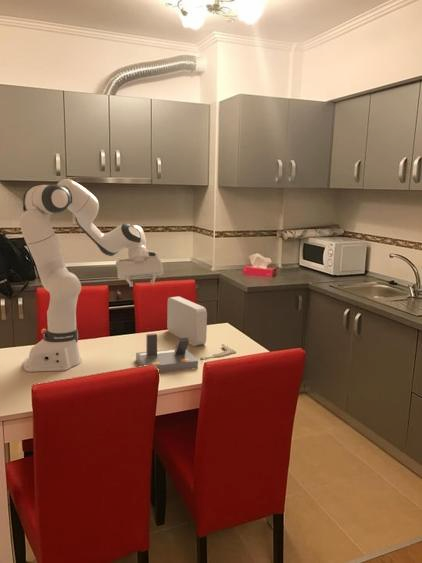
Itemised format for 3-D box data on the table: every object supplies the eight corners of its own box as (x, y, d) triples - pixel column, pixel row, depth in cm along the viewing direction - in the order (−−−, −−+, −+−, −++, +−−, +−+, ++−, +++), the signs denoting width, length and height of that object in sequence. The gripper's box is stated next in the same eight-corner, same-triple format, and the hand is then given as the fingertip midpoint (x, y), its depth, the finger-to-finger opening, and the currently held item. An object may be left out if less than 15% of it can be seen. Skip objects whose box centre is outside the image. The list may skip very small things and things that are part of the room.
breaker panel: (144, 374, 180) (144, 366, 180) (136, 359, 195) (136, 352, 194) (197, 368, 188) (197, 360, 187) (185, 354, 203) (186, 347, 202)
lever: (174, 355, 193) (178, 342, 186) (173, 352, 194) (177, 338, 187) (185, 354, 194) (189, 341, 188) (184, 351, 196) (188, 337, 189)
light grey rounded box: (210, 344, 216) (211, 307, 213) (196, 347, 212) (197, 309, 209) (180, 328, 240) (180, 294, 236) (167, 330, 235) (167, 296, 232)
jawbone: (239, 352, 210) (240, 348, 210) (217, 367, 193) (217, 362, 193) (222, 347, 215) (223, 343, 214) (199, 361, 197) (199, 356, 197)
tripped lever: (146, 358, 188) (146, 335, 186) (145, 356, 190) (145, 334, 188) (157, 357, 190) (157, 334, 188) (156, 355, 191) (156, 333, 189)
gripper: (114, 256, 203) (117, 283, 197) (161, 252, 208) (165, 279, 201) (115, 263, 209) (118, 290, 202) (160, 260, 213) (164, 286, 207)
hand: (142, 284), depth 202 cm, fingers open, 8 cm apart
